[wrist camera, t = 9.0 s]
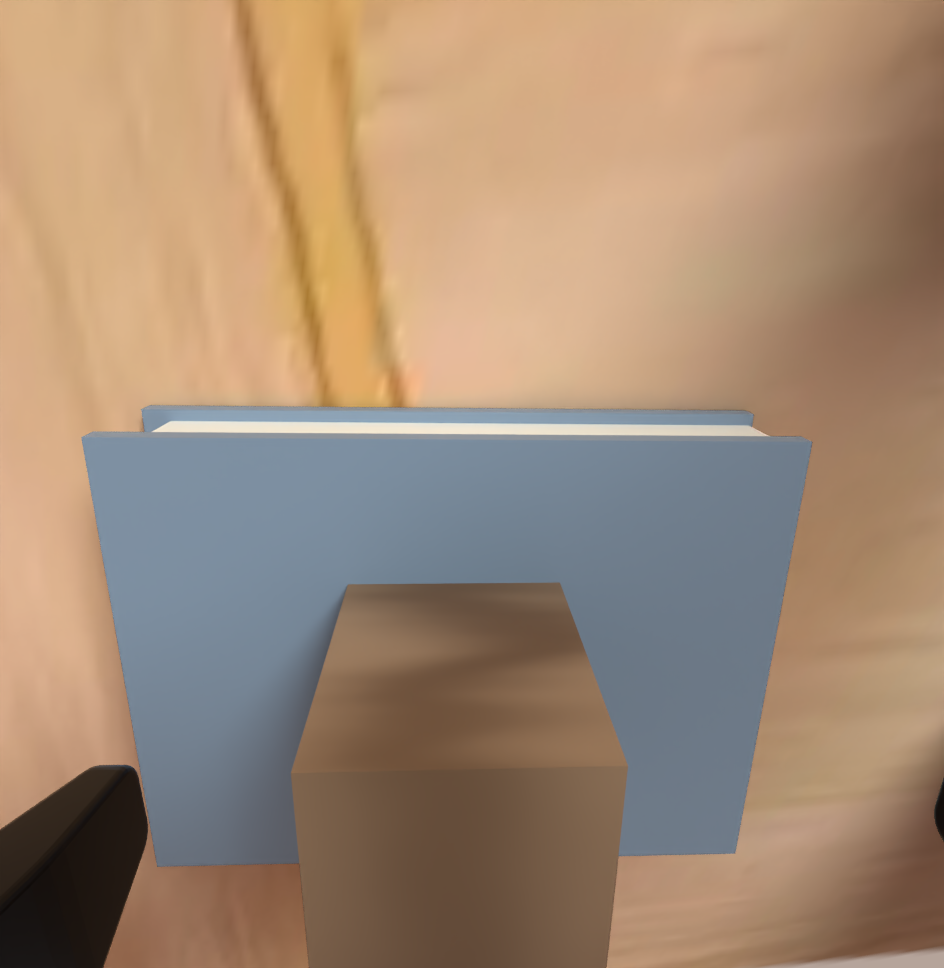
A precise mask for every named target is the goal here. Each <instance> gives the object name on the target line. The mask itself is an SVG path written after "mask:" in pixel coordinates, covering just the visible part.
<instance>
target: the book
mask: <svg viewBox="0 0 944 968" xmlns="http://www.w3.org/2000/svg"><path fill="white" fill-rule="evenodd" d="M141 410H142V417H143V423H144V430H145V432H91V433H89V434H87V435H85V436H83V437H81V438H82V443H83V449H84V455H85V460H86V466H87V472H88V477H89V483H90V488H91V494H92V500H93V505H94V511H95V517H96V522H97V528H98V534H99V539H100V545H101V551H102V556H103V562H104V568H105V573H106V579H107V585H108V590H109V596H110V602H111V607H112V613H113V619H114V624H115V630H116V636H117V641H118V647H119V653H120V658H121V664H122V670H123V675H124V681H125V687H126V692H127V698H128V704H129V709H130V715H131V721H132V726H133V732H134V738H135V743H136V749H137V755H138V760H139V766H140V772H141V777H142V783H143V789H144V794H145V800H146V806H147V811H148V817H149V823H150V828H151V834H152V840H153V845H154V851H155V856H156V862H157V867H164V866H208V865H252V864H296V863H299V855H298V845H297V834H296V823H295V813H294V802H293V791H292V781H291V771H292V767H293V764H294V761H295V758H296V754H297V751H298V748H299V744H300V741H301V738H302V734H303V731H304V728H305V725H306V721H307V718H308V715H309V711H310V708H311V705H312V701H313V698H314V695H315V692H316V688H317V685H318V682H319V678H320V675H321V672H322V668H323V665H324V662H325V658H326V655H327V652H328V649H329V645H330V642H331V639H332V635H333V632H334V629H335V625H336V622H337V619H338V616H339V612H340V609H341V606H342V602H343V599H344V596H345V592H346V589H347V586H348V584H443V583H558V582H560V584H561V587H562V589H563V592H564V595H565V598H566V600H567V603H568V606H569V608H570V611H571V614H572V616H573V619H574V622H575V624H576V627H577V630H578V632H579V635H580V638H581V641H582V643H583V646H584V649H585V651H586V654H587V657H588V659H589V662H590V665H591V667H592V670H593V673H594V676H595V678H596V681H597V684H598V686H599V689H600V692H601V694H602V697H603V700H604V702H605V705H606V708H607V711H608V713H609V716H610V719H611V721H612V724H613V727H614V729H615V732H616V735H617V737H618V740H619V743H620V746H621V748H622V751H623V754H624V756H625V759H626V762H627V764H628V772H627V781H626V790H625V800H624V809H623V818H622V828H621V837H620V846H619V856H647V855H691V854H735V851H736V846H737V841H738V835H739V830H740V825H741V819H742V814H743V809H744V803H745V798H746V793H747V787H748V782H749V777H750V771H751V766H752V761H753V755H754V750H755V745H756V739H757V734H758V729H759V723H760V718H761V713H762V707H763V702H764V697H765V692H766V686H767V681H768V676H769V670H770V665H771V660H772V654H773V649H774V644H775V638H776V633H777V628H778V622H779V617H780V612H781V606H782V601H783V596H784V590H785V585H786V580H787V574H788V569H789V564H790V558H791V553H792V548H793V543H794V537H795V532H796V527H797V521H798V516H799V511H800V505H801V500H802V495H803V489H804V484H805V479H806V473H807V468H808V463H809V457H810V452H811V447H812V441H809V440H807V439H805V438H803V437H801V436H768V435H766V434H764V433H762V432H760V431H758V430H756V429H754V428H753V427H752V423H753V416H754V414H752V413H750V412H747V411H737V410H622V409H506V408H391V407H276V406H161V405H150V406H147V407H145V408H143V409H141Z"/></svg>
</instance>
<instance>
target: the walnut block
mask: <svg viewBox="0 0 944 968" xmlns="http://www.w3.org/2000/svg"><path fill="white" fill-rule="evenodd" d="M627 772H628V764H627V762H626V759H625V756H624V754H623V751H622V748H621V746H620V743H619V740H618V737H617V735H616V732H615V729H614V727H613V724H612V721H611V719H610V716H609V713H608V711H607V708H606V705H605V702H604V700H603V697H602V694H601V692H600V689H599V686H598V684H597V681H596V678H595V676H594V673H593V670H592V667H591V665H590V662H589V659H588V657H587V654H586V651H585V649H584V646H583V643H582V641H581V638H580V635H579V632H578V630H577V627H576V624H575V622H574V619H573V616H572V614H571V611H570V608H569V606H568V603H567V600H566V598H565V595H564V592H563V589H562V587H561V584H560V582H558V583H443V584H348V586H347V589H346V592H345V596H344V599H343V602H342V606H341V609H340V612H339V616H338V619H337V622H336V625H335V629H334V632H333V635H332V639H331V642H330V645H329V649H328V652H327V655H326V658H325V662H324V665H323V668H322V672H321V675H320V678H319V682H318V685H317V688H316V692H315V695H314V698H313V701H312V705H311V708H310V711H309V715H308V718H307V721H306V725H305V728H304V731H303V734H302V738H301V741H300V744H299V748H298V751H297V754H296V758H295V761H294V764H293V767H292V771H291V781H292V791H293V802H294V813H295V823H296V834H297V845H298V855H299V866H300V876H301V887H302V898H303V908H304V919H305V930H306V940H307V951H308V961H309V968H606V967H607V958H608V949H609V939H610V930H611V921H612V911H613V902H614V893H615V883H616V874H617V865H618V856H619V846H620V837H621V828H622V818H623V809H624V800H625V790H626V781H627Z"/></svg>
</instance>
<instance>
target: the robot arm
mask: <svg viewBox="0 0 944 968" xmlns="http://www.w3.org/2000/svg"><path fill="white" fill-rule="evenodd" d="M934 818H935V823H936V826H937V829H938V832H939V834H940V836H941V838H942V840H943V842H944V778H943V782H942V785H941V788H940V791H939V795H938V798H937V801H936V804H935V809H934ZM147 833H148V823H147V817H146V812H145V807H144V802H143V797H142V792H141V787H140V783H139V778H138V775H137V772H136V770H135V769H134V768H133V767H131V766H128V765H99V766H94V767H91V768H89V769H88V770H86V771H84V772H83V773H81V774H80V775H78V776H77V777H76V778H74V779H73V780H71V781H70V782H68V783H67V784H65V785H64V786H63V787H61V788H60V789H58V790H57V791H55V792H54V793H52V794H51V795H49V796H48V797H47V798H45V799H44V800H42V801H41V802H39V803H38V804H36V805H35V806H34V807H32V808H31V809H29V810H28V811H26V812H25V813H23V814H22V815H20V816H19V817H18V818H16V819H15V820H13V821H12V822H10V823H9V824H7V825H6V826H5V827H3V828H2V829H0V968H103V967H104V964H105V961H106V958H107V955H108V953H109V950H110V947H111V944H112V941H113V938H114V935H115V932H116V929H117V927H118V924H119V921H120V918H121V915H122V912H123V909H124V906H125V903H126V901H127V898H128V895H129V892H130V889H131V886H132V883H133V880H134V877H135V875H136V872H137V869H138V866H139V863H140V860H141V857H142V854H143V851H144V848H145V845H146V840H147Z"/></svg>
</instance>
